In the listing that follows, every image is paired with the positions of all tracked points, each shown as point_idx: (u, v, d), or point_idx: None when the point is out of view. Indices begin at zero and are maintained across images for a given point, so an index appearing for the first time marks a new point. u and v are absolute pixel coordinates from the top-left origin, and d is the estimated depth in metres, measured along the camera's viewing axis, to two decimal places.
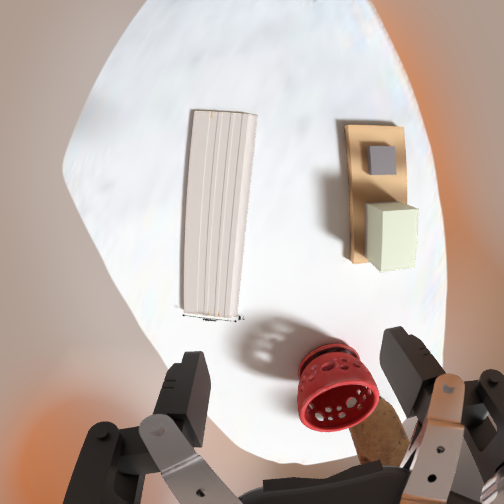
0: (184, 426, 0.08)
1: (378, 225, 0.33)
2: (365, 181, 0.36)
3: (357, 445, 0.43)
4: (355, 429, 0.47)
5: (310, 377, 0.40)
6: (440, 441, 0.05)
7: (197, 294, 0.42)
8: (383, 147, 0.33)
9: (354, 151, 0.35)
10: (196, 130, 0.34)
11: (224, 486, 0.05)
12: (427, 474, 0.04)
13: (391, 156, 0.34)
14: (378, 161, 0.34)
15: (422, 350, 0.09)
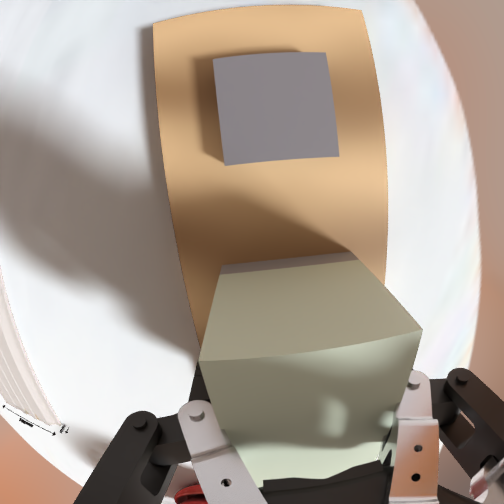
0: None
1: None
2: (218, 191, 0.11)
3: None
4: None
5: None
6: (416, 440, 0.05)
7: (4, 386, 0.17)
8: (274, 57, 0.08)
9: (171, 93, 0.09)
10: None
11: (250, 479, 0.05)
12: (410, 474, 0.04)
13: (311, 88, 0.08)
14: (253, 109, 0.09)
15: None
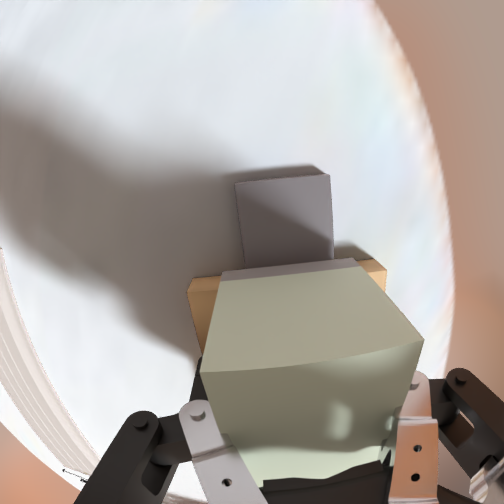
0: None
1: None
2: None
3: None
4: None
5: None
6: (415, 440, 0.05)
7: (64, 458, 0.21)
8: (286, 182, 0.11)
9: None
10: None
11: (251, 479, 0.05)
12: (409, 474, 0.04)
13: (315, 210, 0.12)
14: (268, 230, 0.12)
15: None
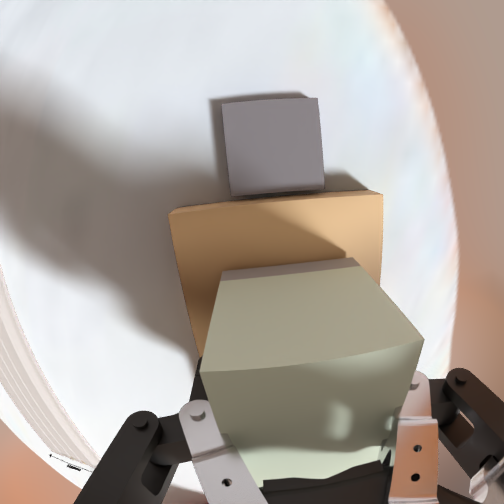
0: None
1: None
2: None
3: None
4: None
5: None
6: (415, 440, 0.05)
7: (50, 440, 0.20)
8: (273, 103, 0.10)
9: (197, 295, 0.12)
10: None
11: (251, 479, 0.05)
12: (409, 474, 0.04)
13: (303, 131, 0.11)
14: (254, 149, 0.11)
15: None
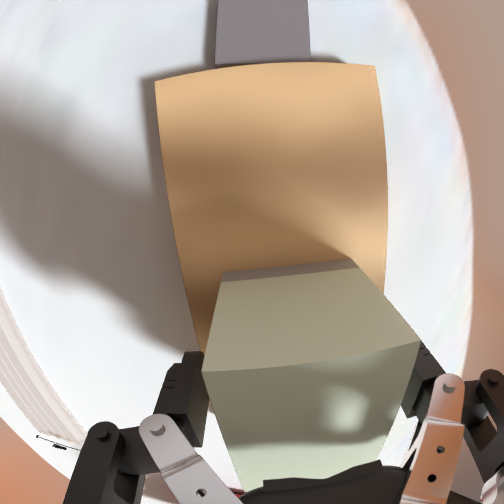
0: (184, 426, 0.08)
1: None
2: (227, 264, 0.12)
3: None
4: None
5: None
6: (440, 441, 0.05)
7: (32, 414, 0.18)
8: None
9: (178, 166, 0.10)
10: None
11: (224, 486, 0.05)
12: (427, 474, 0.04)
13: (292, 19, 0.09)
14: (243, 28, 0.09)
15: (422, 350, 0.09)
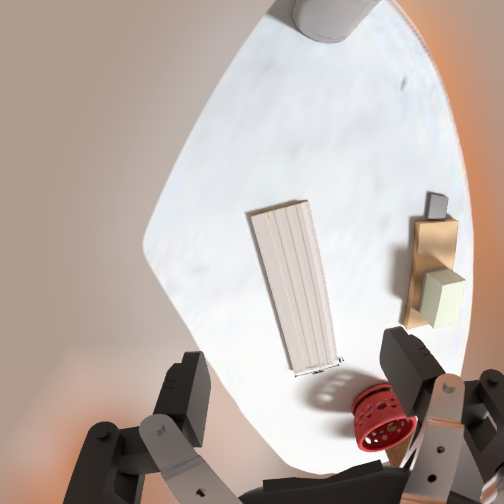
0: (184, 426, 0.08)
1: (436, 294, 0.37)
2: (425, 268, 0.41)
3: (392, 458, 0.48)
4: None
5: (367, 414, 0.45)
6: (440, 441, 0.05)
7: (302, 357, 0.47)
8: (440, 197, 0.38)
9: (421, 246, 0.40)
10: (259, 234, 0.40)
11: (224, 486, 0.05)
12: (427, 474, 0.04)
13: (444, 205, 0.38)
14: (435, 207, 0.39)
15: (422, 350, 0.09)
